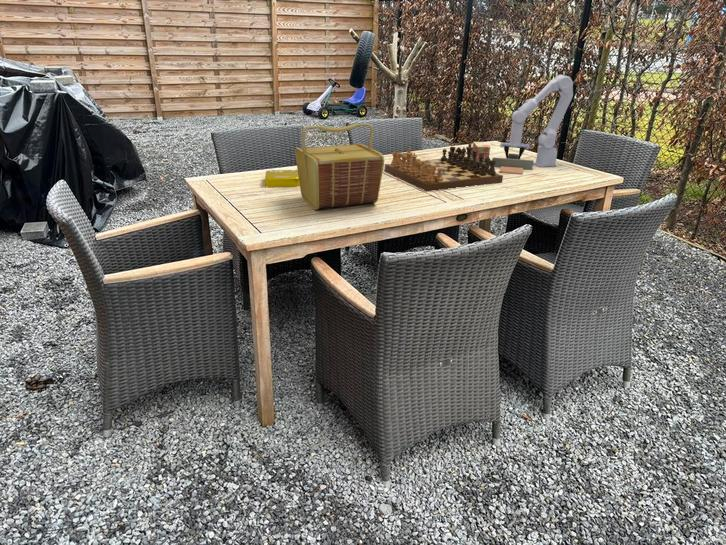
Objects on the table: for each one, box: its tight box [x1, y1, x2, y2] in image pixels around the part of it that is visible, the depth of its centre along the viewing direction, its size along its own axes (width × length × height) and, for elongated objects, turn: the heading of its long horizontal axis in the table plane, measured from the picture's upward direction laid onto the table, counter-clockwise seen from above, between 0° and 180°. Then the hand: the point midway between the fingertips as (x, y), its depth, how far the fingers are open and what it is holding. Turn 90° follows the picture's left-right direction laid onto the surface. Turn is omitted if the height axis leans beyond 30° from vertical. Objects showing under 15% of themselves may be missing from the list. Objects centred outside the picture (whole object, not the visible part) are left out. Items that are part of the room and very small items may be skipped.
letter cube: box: [508, 153, 519, 159], centre depth 267 cm, size 5×5×5 cm
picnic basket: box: [294, 122, 385, 211], centre depth 198 cm, size 29×26×30 cm
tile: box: [498, 166, 524, 176], centre depth 255 cm, size 11×11×1 cm
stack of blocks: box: [470, 141, 491, 163], centre depth 261 cm, size 21×6×12 cm, turn 179°
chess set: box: [384, 142, 504, 192], centre depth 241 cm, size 40×40×15 cm
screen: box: [492, 156, 534, 171], centre depth 260 cm, size 20×2×4 cm, turn 73°
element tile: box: [264, 169, 300, 188], centre depth 229 cm, size 15×15×5 cm
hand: (512, 161), depth 268 cm, fingers closed on letter cube, 5 cm apart
